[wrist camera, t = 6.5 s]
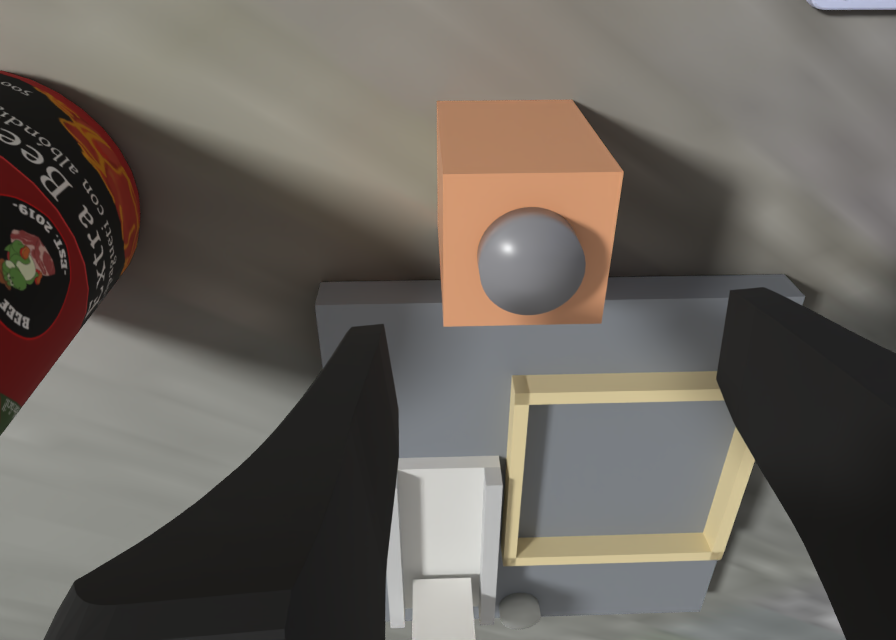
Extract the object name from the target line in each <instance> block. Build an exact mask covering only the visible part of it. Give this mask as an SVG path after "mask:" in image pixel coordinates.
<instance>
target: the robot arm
mask: <svg viewBox="0 0 896 640" xmlns="http://www.w3.org/2000/svg"><path fill="white" fill-rule="evenodd" d="M807 2H808V3H809V4H810V5H811V6H812V7H815V8H818V9H823V10H896V0H807ZM716 380H717V383H718V385H719V388H720V391H721V393H722V396H723V398H724V401H725V403H726V406H727V408H728V411H729V413H730V415H731V418H732V420H733V422H734V424H735V426H736V428H737V430H738V432H739V433H740V435H741V437H742V438H743V440H744V442H745V444H746V445H747V447H748V449H749V450H750V452H751V454H752V456H753V457H754V459H755V461H756V462H757V464H758V466H759V467H760V469H761V471H762V472H763V474H764V476H765V477H766V479H767V481H768V482H769V484H770V486H771V487H772V489H773V491H774V492H775V494H776V496H777V497H778V499H779V501H780V502H781V504H782V506H783V507H784V509H785V511H786V512H787V514H788V516H789V517H790V519H791V521H792V523H793V524H794V526H795V528H796V530H797V532H798V534H799V536H800V537H801V539H802V541H803V543H804V545H805V547H806V549H807V551H808V553H809V556H810V558H811V560H812V562H813V564H814V567H815V569H816V571H817V573H818V575H819V578H820V580H821V582H822V584H823V586H824V589H825V591H826V593H827V595H828V597H829V600H830V602H831V605H832V607H833V609H834V612H835V614H836V616H837V619H838V621H839V623H840V626H841V628H842V631H843V633H844V635H845V638H846V640H896V353H893V352H891V351H889V350H887V349H885V348H883V347H881V346H879V345H877V344H875V343H873V342H871V341H869V340H867V339H865V338H863V337H861V336H859V335H857V334H855V333H853V332H851V331H849V330H847V329H846V328H844V327H842V326H840V325H838V324H836V323H834V322H832V321H830V320H828V319H827V318H825V317H823V316H821V315H819V314H817V313H815V312H813V311H811V310H810V309H808V308H806V307H804V306H802V305H800V304H798V303H796V302H794V301H792V300H790V299H789V298H787V297H785V296H783V295H781V294H778V293H776V292H774V291H772V290H770V289H767V288H765V287H758V288H748V289H737V290H730V293H729V299H728V305H727V312H726V318H725V325H724V331H723V337H722V344H721V350H720V357H719V363H718V369H717V376H716ZM398 461H399V408H398V403H397V397H396V391H395V385H394V379H393V373H392V368H391V362H390V356H389V350H388V344H387V339H386V333H385V327H384V324H376V325H366V326H355V327H351V328H350V329H349V330H348V331H347V332H346V334H345V336H344V337H343V339H342V340H341V342H340V343H339V345H338V347H337V348H336V350H335V351H334V353H333V354H332V356H331V357H330V359H329V360H328V362H327V363H326V365H325V366H324V368H323V369H322V371H321V372H320V373H319V375H318V376H317V378H316V379H315V380H314V382H313V383H312V385H311V386H310V387H309V389H308V390H307V391H306V393H305V394H304V395H303V397H302V398H301V399H300V401H299V402H298V403H297V404H296V405H295V407H294V408H293V409H292V410H291V412H290V413H289V414H288V415H287V416H286V418H285V419H284V420H283V421H282V422H281V424H280V425H279V426H278V427H277V428H276V430H275V431H274V432H273V433H272V434H271V435H270V436H269V437H268V438H267V439H266V441H265V442H264V443H263V444H262V445H261V446H260V447H259V448H258V449H257V450H256V451H255V452H254V453H253V454H252V455H251V456H250V457H249V458H248V459H247V460H246V461H244V462H243V463H242V464H241V465H240V466H239V467H238V468H237V469H236V470H234V471H233V472H232V473H231V474H230V475H229V476H227V477H226V478H225V479H224V480H223V481H221V482H220V483H219V484H218V485H217V486H215V487H214V488H213V489H212V490H211V491H210V492H208V493H207V494H206V495H205V496H204V497H202V498H201V499H200V500H199V501H197V502H196V503H195V504H193V505H192V506H191V507H189V508H188V509H187V510H185V511H184V512H183V513H181V514H180V515H179V516H177V517H176V518H175V519H173V520H172V521H170V522H169V523H167V524H166V525H164V526H163V527H162V528H160V529H159V530H157V531H156V532H154V533H153V534H151V535H150V536H148V537H147V538H145V539H144V540H142V541H141V542H139V543H138V544H136V545H135V546H133V547H131V548H130V549H128V550H126V551H125V552H123V553H121V554H120V555H118V556H116V557H115V558H113V559H111V560H110V561H108V562H106V563H105V564H103V565H101V566H100V567H98V568H96V569H95V570H93V571H91V572H90V573H88V574H86V575H85V576H83V577H81V578H79V579H77V580H76V581H74V583H73V585H72V587H71V588H70V590H69V592H68V594H67V595H66V597H65V599H64V600H63V602H62V604H61V606H60V607H59V609H58V611H57V613H56V615H55V617H54V619H53V621H52V623H51V625H50V627H49V629H48V632H47V634H46V636H45V638H44V640H385V600H386V571H387V558H388V549H389V540H390V532H391V523H392V514H393V506H394V497H395V488H396V479H397V470H398Z"/></svg>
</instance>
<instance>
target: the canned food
mask: <svg viewBox="0 0 896 640" xmlns="http://www.w3.org/2000/svg"><path fill="white" fill-rule="evenodd" d="M140 214H141V213H140V203H139V193H138V190H137V187H136V183H135V180H134V177H133V174H132V171H131V169H130V167H129V166H128V164H127V162H126V160H125V158H124V156H123V154H122V153H121V151H120V149H119V148H118V147H117V145H116V144H115V143H114V141H113V140H112V139H111V138H110V136H109V135H108V134H107V133H106V131H105V130H104V129H103V128H102V127H101V126H100V125H99V124H98V123H97V122H96V121H95V120H94V119H92V118H91V117H90V116H89V115H88V114H87V113H86V112H85V111H84V110H83V109H81V108H80V107H78V106H77V105H76V104H74V103H73V102H71V101H70V100H68V99H67V98H65V97H64V96H62V95H61V94H59V93H58V92H56V91H54V90H52V89H50V88H48V87H46V86H43V85H41V84H39V83H37V82H35V81H33V80H31V79H28V78H24V77H21V76H18V75H15V74H11V73H8V72H5V71H0V435H1V434H2V433H3V432H4V430H5V429H6V428H7V426H8V425H9V424H10V422H11V421H12V420H13V418H14V417H15V416H16V414H17V413H18V412H19V410H20V409H21V408H22V406H23V405H24V404H25V402H26V401H27V400H28V398H29V397H30V396H31V394H32V393H33V392H34V390H35V389H36V388H37V386H38V385H39V384H40V382H41V381H42V380H43V378H44V377H45V376H46V374H47V373H48V372H49V370H50V369H51V368H52V366H53V365H54V364H55V362H56V361H57V360H58V358H59V357H60V356H61V354H62V353H63V352H64V350H65V349H66V348H67V346H68V345H69V344H70V342H71V341H72V340H73V338H74V337H75V336H76V334H77V333H78V332H79V330H80V329H81V328H82V326H83V325H84V324H85V323H86V321H87V320H88V319H89V317H90V316H91V315H92V313H93V312H94V311H95V309H96V308H97V307H98V305H99V304H100V303H101V301H102V300H103V299H104V297H105V296H106V295H107V293H108V292H109V291H110V289H111V288H112V287H113V285H114V284H115V283H116V281H117V280H118V279H119V277H120V276H121V275H122V273H123V272H124V271H125V269H126V268H127V267H128V265H129V263H130V261H131V259H132V256H133V254H134V252H135V249H136V247H137V241H138V234H139V227H140Z"/></svg>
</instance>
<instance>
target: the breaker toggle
mask: <svg viewBox="0 0 896 640" xmlns="http://www.w3.org/2000/svg"><path fill="white" fill-rule="evenodd" d="M412 640H475V628H474V614H473V601H472V587H471V578H445V579H413V614H412Z"/></svg>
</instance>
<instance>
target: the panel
mask: <svg viewBox="0 0 896 640" xmlns="http://www.w3.org/2000/svg"><path fill="white" fill-rule="evenodd" d="M758 287H765V288H767V289H770V290H772V291H774V292H776V293H778V294H781V295H783V296H785V297H787V298H789V299H790V300H792V301H794V302H796V303H798V304H800V305H803V302H804V299H805V296H804V295H803V294H802V292H801V291H800V290H799V289H798V288H797V287H796V286H795V285H794V284H793V283H792V282H791V281H790V280H789V279H788V278H787V276H786V275H785V274H775V275H715V276H655V277H608V282H607V289H606V296H605V303H604V310H603V316H602V323H601V324H554V325H503V326H452V327H443V309H442V290H441V280H415V281H355V282H320V286H319V290H318V294H317V298H316V302H315V311H316V319H317V327H318V335H319V343H320V351H321V359H322V367H323V368H324V366H325V365H326V363H327V362H328V360H329V359H330V357H331V356H332V354H333V353H334V351H335V350H336V348H337V347H338V345H339V343H340V342H341V340H342V339H343V337H344V336H345V334H346V332H347V331H348V330H349V329H350V328H351V327H355V326H366V325H376V324H384V327H385V333H386V339H387V344H388V350H389V356H390V362H391V368H392V373H393V379H394V385H395V391H396V397H397V403H398V408H399V461H398V470H397V479H396V488H395V497H394V506H393V514H392V523H391V532H390V540H389V549H388V558H387V571H386V600H385V621H390V626H391V628H405V621H412V614H413V579H445V578H471V587H472V601H473V614H474V619H477V618H479V619H480V625H494V618H500V620H501V622H502V624H503V625H504V626H506V627H508V628H511V629H525V628H529V627H531V626H533V625H535V624H536V623H537V622H538V621H539V620H540V617H541V616H572V615H603V614H634V613H666V612H697V611H700V610H701V607H702V604H703V601H704V598H705V595H706V592H707V589H708V586H709V583H710V580H711V577H712V574H713V571H714V568H715V565H716V562H717V560H721V559H722V556H723V553H724V550H725V547H726V544H727V542H728V539H729V536H730V533H731V530H732V527H733V524H734V521H735V518H736V515H737V512H738V509H739V506H740V503H741V500H742V497H743V494H744V491H745V488H746V485H747V482H748V479H749V477H750V474H751V471H752V468H753V465H754V462H755V459H754V457H753V456H752V454H751V452H750V450H749V449H748V447H747V445H746V444H745V442H744V440H743V438H742V437H741V435H740V433H739V432H738V430H737V428H736V426H735V424H734V422H733V420H732V418H731V415H730V413H729V411H728V408H727V406H726V403H725V401H724V398H723V396H722V393H721V391H720V388H719V385H718V383H717V380H716V376H717V369H718V363H719V357H720V350H721V344H722V337H723V331H724V325H725V318H726V312H727V305H728V299H729V293H730V290H737V289H748V288H758Z"/></svg>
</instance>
